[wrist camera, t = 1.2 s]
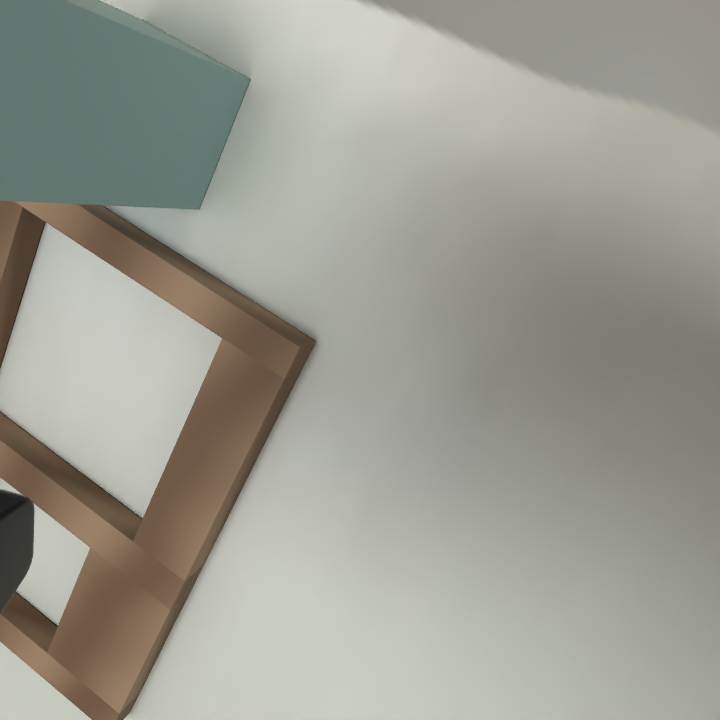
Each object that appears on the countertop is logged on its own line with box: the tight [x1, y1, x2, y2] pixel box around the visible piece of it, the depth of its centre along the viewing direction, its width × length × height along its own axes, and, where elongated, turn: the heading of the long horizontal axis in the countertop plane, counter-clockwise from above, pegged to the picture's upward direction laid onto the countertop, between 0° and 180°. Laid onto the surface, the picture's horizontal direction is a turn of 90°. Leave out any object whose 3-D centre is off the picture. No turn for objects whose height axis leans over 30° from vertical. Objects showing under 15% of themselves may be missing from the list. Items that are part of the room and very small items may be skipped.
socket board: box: [0, 200, 315, 720], centre depth 25 cm, size 14×19×2 cm
